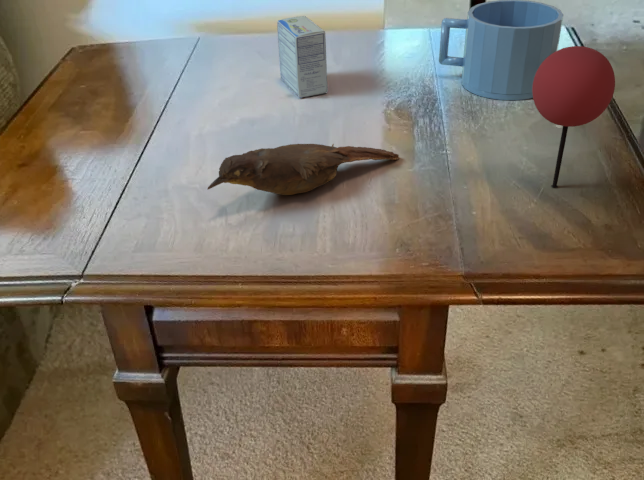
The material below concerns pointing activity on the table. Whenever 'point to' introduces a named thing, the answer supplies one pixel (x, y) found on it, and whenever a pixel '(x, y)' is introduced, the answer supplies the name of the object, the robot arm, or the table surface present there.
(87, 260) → the table surface
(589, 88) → the lollipop
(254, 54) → the table surface
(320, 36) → the medicine box
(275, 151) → the bird sculpture
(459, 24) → the mug
